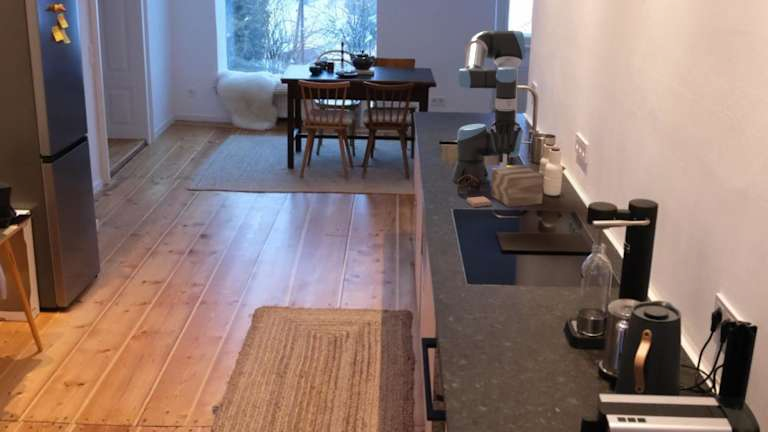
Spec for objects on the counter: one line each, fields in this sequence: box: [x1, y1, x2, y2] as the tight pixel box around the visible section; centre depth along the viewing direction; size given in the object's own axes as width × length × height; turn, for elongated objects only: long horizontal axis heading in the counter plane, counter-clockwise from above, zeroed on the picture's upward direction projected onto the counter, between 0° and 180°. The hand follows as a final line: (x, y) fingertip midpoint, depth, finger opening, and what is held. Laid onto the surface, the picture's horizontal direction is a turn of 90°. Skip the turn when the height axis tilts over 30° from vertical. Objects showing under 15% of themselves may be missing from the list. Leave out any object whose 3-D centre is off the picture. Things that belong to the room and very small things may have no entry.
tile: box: [466, 195, 492, 208], centre depth 328 cm, size 7×7×2 cm
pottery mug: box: [456, 175, 483, 194], centre depth 342 cm, size 12×10×8 cm
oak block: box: [490, 164, 544, 207], centre depth 331 cm, size 16×14×11 cm
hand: (503, 170), depth 327 cm, fingers closed
